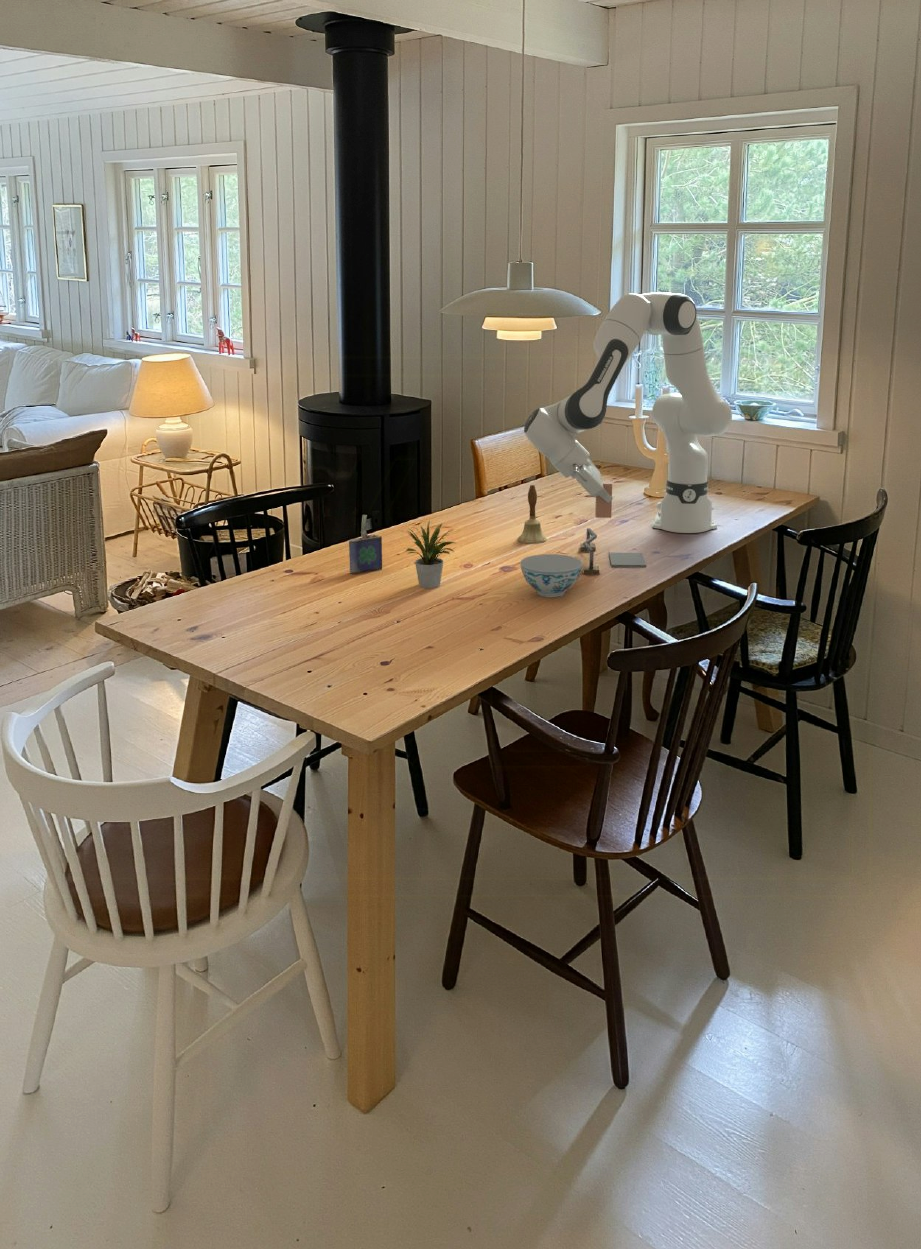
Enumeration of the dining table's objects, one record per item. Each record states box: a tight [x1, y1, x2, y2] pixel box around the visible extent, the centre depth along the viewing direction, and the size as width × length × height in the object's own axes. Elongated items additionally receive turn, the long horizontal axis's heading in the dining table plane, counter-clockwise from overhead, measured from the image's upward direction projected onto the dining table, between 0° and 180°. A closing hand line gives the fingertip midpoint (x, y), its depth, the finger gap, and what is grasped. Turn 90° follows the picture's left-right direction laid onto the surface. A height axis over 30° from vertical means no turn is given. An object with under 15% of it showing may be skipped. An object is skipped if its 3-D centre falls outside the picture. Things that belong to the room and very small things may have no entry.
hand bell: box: [517, 484, 547, 545], centre depth 312 cm, size 8×8×16 cm
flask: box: [348, 530, 383, 575], centre depth 285 cm, size 9×3×11 cm, turn 121°
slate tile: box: [608, 551, 647, 568], centre depth 293 cm, size 12×9×1 cm
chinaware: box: [519, 553, 583, 598], centre depth 266 cm, size 15×15×8 cm
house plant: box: [401, 520, 456, 589], centre depth 270 cm, size 14×14×16 cm
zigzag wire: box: [579, 527, 600, 575], centre depth 293 cm, size 26×4×6 cm, turn 176°
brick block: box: [594, 480, 613, 519], centre depth 288 cm, size 4×4×9 cm
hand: (610, 498), depth 288 cm, fingers closed on brick block, 4 cm apart
